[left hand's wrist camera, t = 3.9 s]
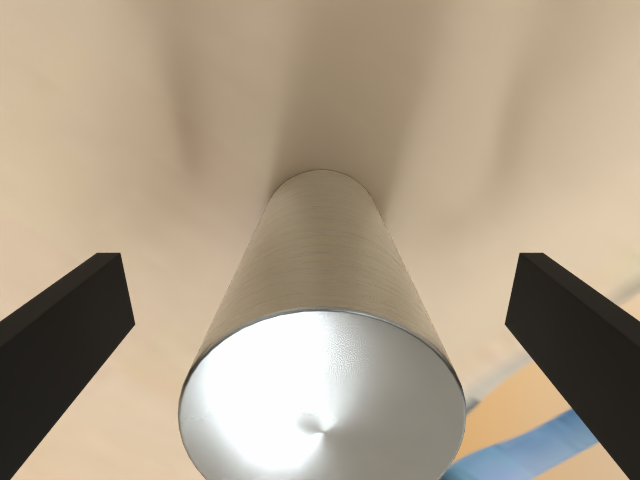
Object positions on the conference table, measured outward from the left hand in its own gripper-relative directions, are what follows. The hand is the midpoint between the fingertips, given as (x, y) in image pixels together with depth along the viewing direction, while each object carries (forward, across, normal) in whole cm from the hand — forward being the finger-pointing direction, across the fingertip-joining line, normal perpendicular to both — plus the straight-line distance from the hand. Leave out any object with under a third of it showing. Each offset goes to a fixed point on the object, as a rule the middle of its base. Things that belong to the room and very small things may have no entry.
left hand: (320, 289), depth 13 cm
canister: (+6, 0, 0) cm, 6 cm away
